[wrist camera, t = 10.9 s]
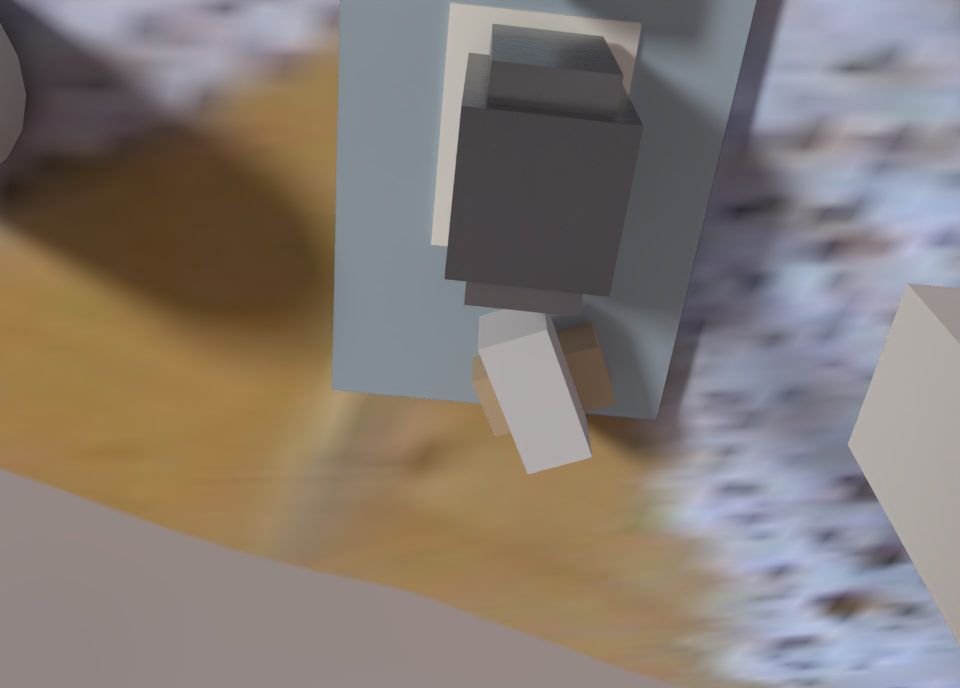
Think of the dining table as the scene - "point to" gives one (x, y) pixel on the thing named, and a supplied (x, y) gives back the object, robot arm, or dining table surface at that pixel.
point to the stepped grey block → (541, 171)
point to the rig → (428, 199)
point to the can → (10, 96)
